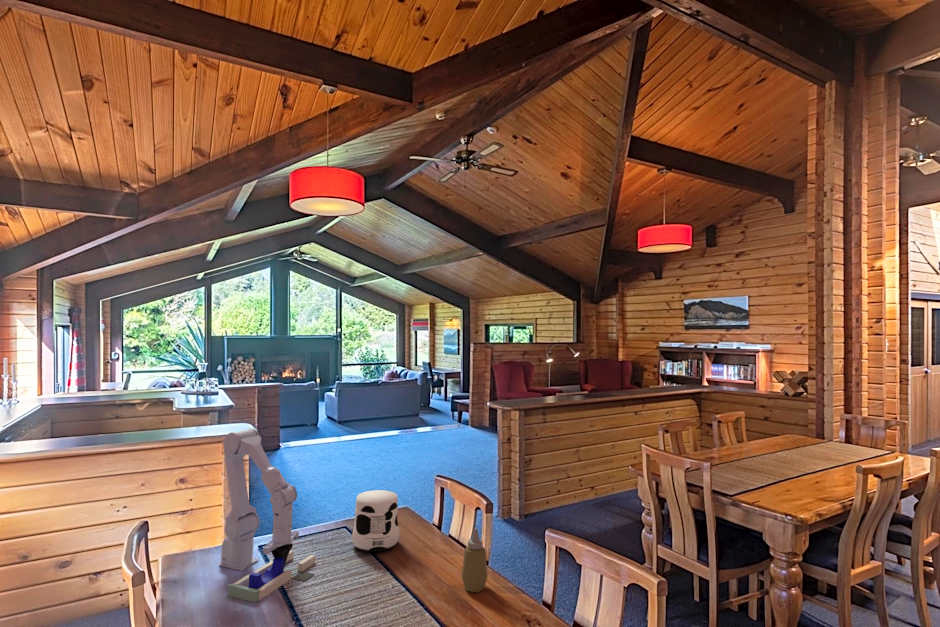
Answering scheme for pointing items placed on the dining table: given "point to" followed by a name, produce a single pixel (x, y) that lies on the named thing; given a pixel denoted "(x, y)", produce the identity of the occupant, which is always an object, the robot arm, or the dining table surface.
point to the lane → (254, 595)
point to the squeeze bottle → (474, 564)
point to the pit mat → (303, 576)
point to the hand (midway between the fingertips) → (280, 568)
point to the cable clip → (267, 574)
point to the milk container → (376, 521)
